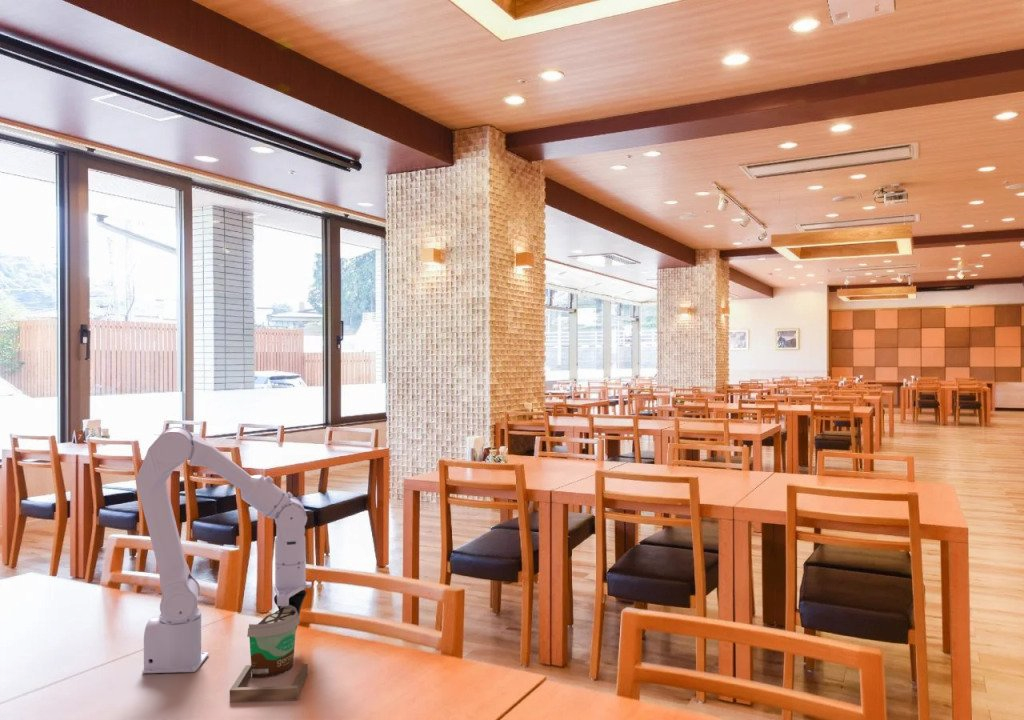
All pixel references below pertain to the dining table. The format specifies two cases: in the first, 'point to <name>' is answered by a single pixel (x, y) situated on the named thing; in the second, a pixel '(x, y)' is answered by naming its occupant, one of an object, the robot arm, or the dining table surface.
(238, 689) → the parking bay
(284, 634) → the food container
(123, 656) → the dining table surface
